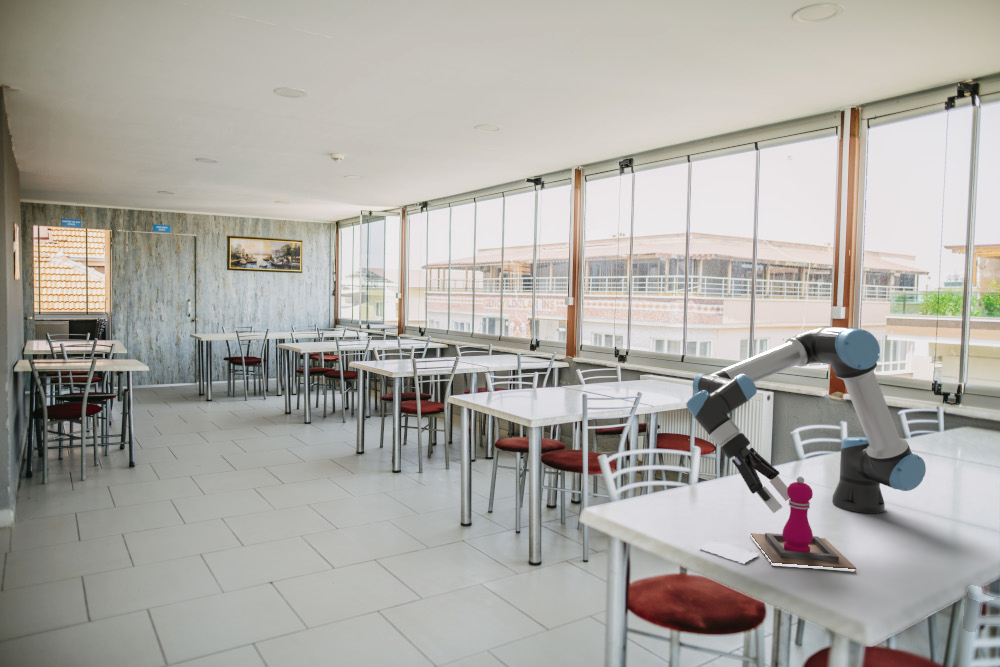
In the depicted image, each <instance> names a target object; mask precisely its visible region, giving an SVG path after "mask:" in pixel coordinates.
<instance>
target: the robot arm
mask: <svg viewBox="0 0 1000 667" xmlns="http://www.w3.org/2000/svg"><path fill="white" fill-rule="evenodd" d="M879 354H881V350H880V343H879V341H878V339H877V338H876V337H875V336H874V334H872V333H871V332H870V331H869V330H865V329H861V328H857V327H839V326H819V327H815V328H812V329H810V330H807V331H804V332H802V333H799V334H797V335H795V336H792V337H789V338H787V339H786V340H785V342H784V343H783V344H781V345H778V346H776V347H774V348H771V349H768V350H766V351H764V352H761V353H759V354H756V355H754V356H752V357H749V358H747V359H744V360H742V361H741V362H737V363H734V364H732V365H730V366H727V367H725V368H723V369H720V370H718V371H715V372H712V373H706V372H705V373H700V374H697V375H696V377H694V379H693V382H692V391H693V392H694V393H695V394H694V395H693V396H692V397H691V398H689V399H688V400H687V402H686V409H687V410H688V411H689V412H690V414H691V415H692V416H693V419H695V420H696V421H697V423H698V424H699V425H700V426H701V427H702V428H703V430H704V431H705V432H706V433H707V434H708V435H709V437H710V440H711V442H714V443H715V444H716V445H717V446H718V447H720V449H721V452H722V453H723V454H724V455H725V456H726V458H728V459H732V458H733V457H734V458H733V459H732V460H731V462H732V463H733V465H734V466H735V467H736V468H737V470H738V472H739V474H740V475H741V477H742V479H743V480H744V482H745V484H746V486H747V488H748V489H749V491H750V492H751V493H752V494H753V495H754V494H757V495H758V496H759V497H760V498H761V500H762V501H763V502H764V503H765V505H766V506H767V507H768V509H769V510H771V512H772V513H773V514H775V513H776V512H778V511H779V510H780V509H782V508H783V506H782V504H781V503H780V502H779V501H778V500H777V498H775V496H774V495H773V493H771V491H770V490H769V489H768V488H767V486H763V484H762V481H761V479H760V477H759V474H758V473H760V474H761V475H763V476H764V477H766V479H768V480H769V483H770V484H771V485H772V486H773V488H774V489H775V491H776V492H777V493H778V494H779V495H780V496H781V497H782V498H783V499H784V501H785V502H786V501H789V500H790V497H789V496H788V494H787V489H788V487H789V486H787V485H786V484H785V482H784V481H783V480H782V479H781V478H780V476H779V475H780V471H779V470H777V469H776V468H775V467H774V466H773V465H771V464H770V463H769V462H768V461H767V460H766V459H765V458H763V456H761V455H760V454H759V453H758V452H757V451H756V450H755V449H754V447H750V448H747V447H748V446H749V445H750V444H751V442H750V440H749V439H748V438H747V437H746V435H745V434H744V433H743V432H740V431H741V429H740V428H739V427H738V425H737V424H736V423H735V422H734V420H732V419H731V418H730V417H729V414H731V413H732V412H733V411H735V410H736V409H738V408H739V407H741V406H743V405H744V404H746V403H747V402H749V401H750V400H752V398H753V397H754V396H756V394H757V389H758V388H757V386H756V384H755V383H757V382H759V381H762V380H764V379H766V378H769V377H771V376H773V375H776V374H779V373H780V372H783V371H786V370H788V369H791V368H792V367H804V366H806V365H810V364H826V365H831V367H832V370H833V374H834V375H835V377H836V378H837V379H840V380H843V382H844V385H845V388H846V390H847V392H848V395H849V397H850V400H851V403H852V406H853V409H854V410H855V413H856V416H857V418H858V420H859V423H860V425H861V427H862V430H863V433H864V437H863V436H850V437H849V436H847V437H844V438H843V439H842V442H841V447H840V464H839V465H840V467H839V470H840V471H839V481H838V483H837V486H836V487H835V490H834V492H833V494H832V504H833V505H835V506H836V507H839V508H841V509H843V510H847V511H851V512H855V513H862V514H881V513H884V512H885V506H886V505H885V500H884V497H883V494H882V490H881V485H883V486H886V487H889V488H891V489H894V490H898V491H899V490H900V491H902V492H908V491H912V490H915V489H916V488H917V487H919V485H921V484H922V482H923V479H924V477H925V475H926V469H927V468H926V467H927V466H926V462H925V461H924V458H923V457H921V456H919V455H918V454H915V453H914V454H913V453H912V451H911V448H910V445H909V443H908V441H907V439H904V438H902V437H900V435H899V432H898V430H897V427H896V425H895V422H894V420H893V417H892V415H891V412H890V409H889V406H888V405H887V402H886V399H885V396H884V395H883V390H882V389H881V387H880V384H879V382H878V379H877V376H876V374H875V370H876V369H877V367H878V364H877V363H878V361H879V358H880V355H879Z"/></svg>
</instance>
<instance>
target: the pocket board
mask: <svg viewBox="0 0 1000 667" xmlns="http://www.w3.org/2000/svg"><path fill="white" fill-rule="evenodd" d="M751 535H752V537H753V538H754V539H755V541H756V542H757V543H758V544H759V546H760V547H761V549H762V550H763V551H764V552H765V554H766V555H767V556H768V558H769V559H770V560H771V562H772V563H782V564H797V565H808V566H823V567H833V568H848V569H856V570H857V567H856V566H855V565H854V564H853V563H852V562H851V561H850V560H848V558H847V557H845V556H844V555H843V554H842V553H841V552H840V551H839V550H838V549H837V548H836V547H835V546H834V545H832V543H831V542H829V540H828V539H826V538H824V537H820V536H814V535H813V540H812V542H811V543H810V544H809V545H808V546H809V547H810V552H797V551H785V550H784V543H785V542H786V540H785V539H784V537H783V533H771V532H765V533H753V532H750V536H751Z"/></svg>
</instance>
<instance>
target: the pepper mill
mask: <svg viewBox="0 0 1000 667" xmlns="http://www.w3.org/2000/svg"><path fill="white" fill-rule="evenodd" d="M787 487H788V489H787V494H788V496H789V497H790V499H788V506H789V509H790V511H789V512H790V513H789V516H788V520H787V521H786V523H785V525H783V529H782V534H783V537H784V539H785V540H786V542H785V543H784V550H785V551H797V552H810V547H809V546H808V545H809V544H810V543H811V542H812V540H813V536H814V535H813V531H812V528H811V525H810V522H809V519H808V518H809V517H808V510H809V509H810V508H811V507H810V505H811V502H810V500H811V499H812V498H813V494H814V493H813V490H812V488H811V486H810V485H809V484H807V483H805V478H804V477H802V476H798V477H797V478H796V482H792V483H790V484H789V486H787Z"/></svg>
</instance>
